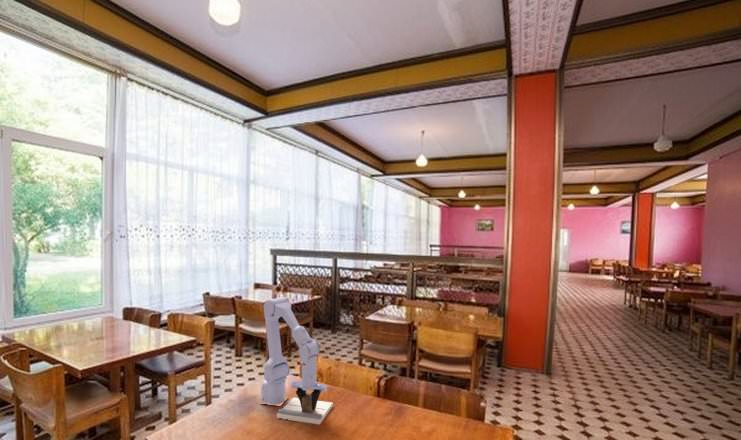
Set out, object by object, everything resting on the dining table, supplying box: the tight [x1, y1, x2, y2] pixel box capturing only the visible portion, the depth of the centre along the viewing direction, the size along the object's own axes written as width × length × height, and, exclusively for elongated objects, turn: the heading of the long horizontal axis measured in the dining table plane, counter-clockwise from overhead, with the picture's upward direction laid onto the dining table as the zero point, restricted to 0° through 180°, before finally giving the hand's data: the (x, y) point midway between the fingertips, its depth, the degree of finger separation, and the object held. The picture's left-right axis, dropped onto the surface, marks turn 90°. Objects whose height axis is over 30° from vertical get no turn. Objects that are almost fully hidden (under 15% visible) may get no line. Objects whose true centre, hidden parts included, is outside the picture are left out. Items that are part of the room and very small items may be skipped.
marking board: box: [276, 397, 334, 425], centre depth 134 cm, size 18×14×2 cm
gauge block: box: [302, 392, 315, 413], centre depth 132 cm, size 4×4×6 cm
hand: (308, 408), depth 132 cm, fingers closed on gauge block, 4 cm apart
